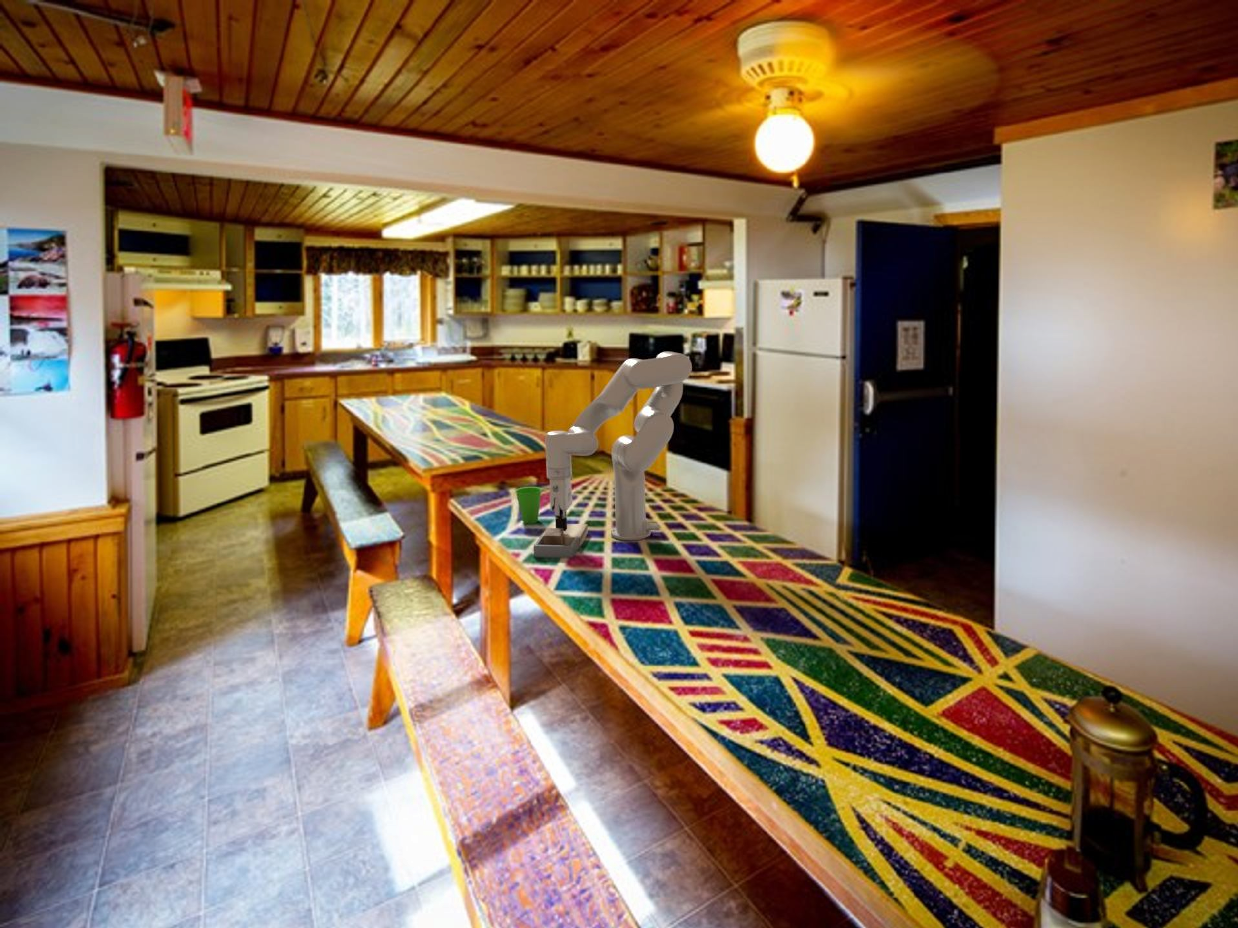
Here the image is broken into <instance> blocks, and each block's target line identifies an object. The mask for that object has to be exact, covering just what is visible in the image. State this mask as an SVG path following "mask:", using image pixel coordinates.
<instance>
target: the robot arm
mask: <svg viewBox="0 0 1238 928" xmlns="http://www.w3.org/2000/svg"><path fill="white" fill-rule="evenodd" d="M692 369H693V366H692V362H691V360H690V358H689V357H688V356H687V355H685V354H683V353H679V352H674V351H663V352H660V353H659V354H657V355H656V357H655V358H648V359H639V358H635V357H634V358H628V359H627V360H625V361H624V362H623V363H622V364H621V365H620V366H619V368H618V369H617V370H616V372H615V374H614V375H613V376H612V377H611V379H610V380H609V382H608V383H607V384H606V386H605V387H604V388H603V390H602V391H601V393H599V395H598V396H597V397H596V398H594V399H593V401H591V403H589V405H587V407H585V408H584V410H583V411H581V412H580V414H579V416H578V417H577V418H576V419H575V421H574V422H573V424H572V425H570V428H569V429H568V431H566V430H552V431H549V432H547V433H546V434H545V437H544V438H545V440H544V441H545V459H546V460H545V463H546V478H547V479H548V480H549V507H550V510H551V511H552V512H554V517H555V519H554V520H555V521H554V522H555V524H556V528H563V531H566V530H567V524H568V519H567V517H568V516H567V514H568V509H569V508H571V506H572V505H573V492H572V491H573V490H572V480H571V478H572V476H573V472H572V471H573V470H572V469H573V468H572V456H583V457H584V456H585V457H586V456H590V455H592V454H595V452H596V451H597V449H598V446H599V440H598V438H597V436H596V435H595V434H596V432H597V431H598V430H599V428H601V426H602V425H603V424H604V423H605V422H606V421H608V420H610V419H611V418H613V417H616V416H618V415H620V414H621V413H622V412H623V411H625V409H626V407H627V406H628V404H629V403H630V402H631V400H632V399H633V398H634V396H635V395H636V394H637V393H638V391H639V390H646V389H653V391H652V393H651V395H650V397H649V398H648V399H647V401H646V402H645V404H644V405H643V407H642V408H641V409H640V411H638V413H637V414H636V416H635V418H634V422H633V427H634V429H635V431H636V435H635V436H633V435H629V434H628V435H622V436H619V437H618V438H617V439H616V440H615V442H614V443H613V444H612V448H611V460H612V468H613V477H614V479H613V480H614V509H615V510H614V511H615V513H614V514H615V527H613V528H612V529H611V531H610V535H611V537H612V538H614V539H617V540H620V541H621V540H622V541H637V540H644V539H646V538H648V537H650V536H651V534H652V533H651V532H652V531H659V532H660V530H661V529H660V528H661V525H660V524H659V523H657V522H649V521H648V518H647V517H646V476H645V472H646V471H647V470H649V468H651V467H652V465H653V464H654V463H655V461H656V460H657V459H658V457H660V454H661V453H662V452H663V450H664V449H665V447H666V446H667V444H668V443H669V441H670V440H671V438H672V436H673V434H674V427H675V426H674V425H675V424H674V421H673V418H672V417H671V416H672V414H673V413H674V412H675V410H676V408H677V406H678V405H679V403H680V401H681V399H682V397H683V390H684V381H685V380H687V379H688V378H689V377H690V375H691V373H692Z"/></svg>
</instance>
